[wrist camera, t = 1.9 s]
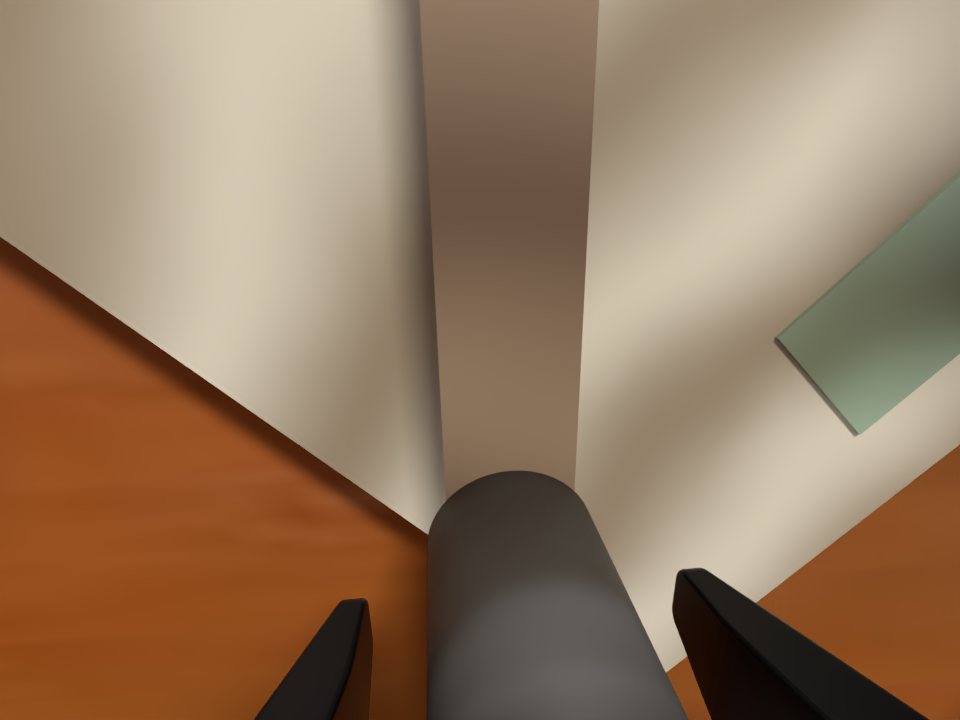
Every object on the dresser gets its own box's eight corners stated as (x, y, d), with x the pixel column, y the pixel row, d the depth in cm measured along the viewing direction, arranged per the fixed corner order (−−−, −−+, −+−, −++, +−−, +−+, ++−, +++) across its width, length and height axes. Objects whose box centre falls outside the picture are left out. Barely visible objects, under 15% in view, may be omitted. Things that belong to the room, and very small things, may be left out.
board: (1166, 208, 12) (1265, 212, 11) (627, 641, 16) (648, 690, 14) (524, -1282, 6) (558, -1812, 4) (-195, 45, 9) (-320, 18, 7)
